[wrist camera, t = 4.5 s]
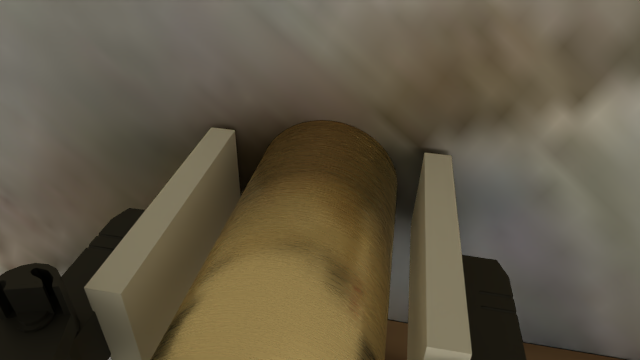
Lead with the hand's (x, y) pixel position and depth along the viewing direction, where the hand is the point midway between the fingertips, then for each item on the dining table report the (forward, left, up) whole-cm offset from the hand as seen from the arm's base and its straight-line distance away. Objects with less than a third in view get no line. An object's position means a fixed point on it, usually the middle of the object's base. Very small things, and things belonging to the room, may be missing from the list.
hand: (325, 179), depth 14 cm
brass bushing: (0, 0, 0) cm, 0 cm away
